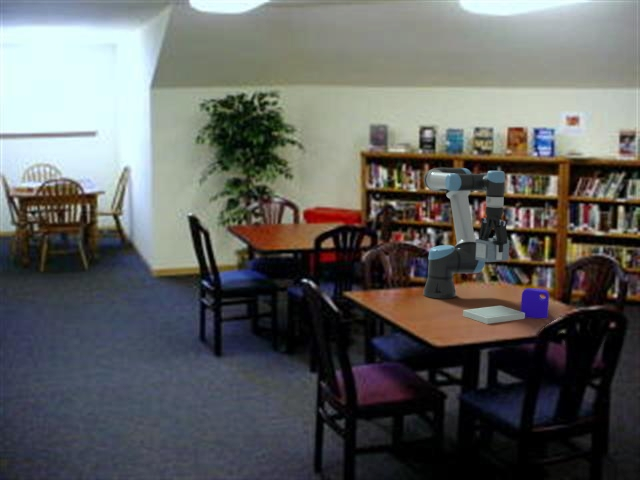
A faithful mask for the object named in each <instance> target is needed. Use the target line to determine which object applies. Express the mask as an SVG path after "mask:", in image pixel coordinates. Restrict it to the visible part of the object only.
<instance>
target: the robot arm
mask: <svg viewBox="0 0 640 480" xmlns="http://www.w3.org/2000/svg"><path fill="white" fill-rule="evenodd" d="M505 175H506V174H505V171H502V170H488V171H487V173H472V172H471V171H470V169H468V168H464V167H435V168H432V169H430V170H428V171H427V172H426V173H425V175H424V177H423V180H424V181H423V182H424V185H425V187H426V188H427V189H429V190H430V191H432V192H433V191H434V192H442V193H443V192H444V193H445V195H446V197H447V198H448V199H449V200H450V208H451V213H452V219H453V220H452V221H453V226H454V233H455V240H456V244H455V245H449V244H448V245H446V244H444V245H443V244H442V245H436V246H434V247H431V248H430V249H429V252H428V258H427V259H428V266H427V279H426V283H425V286H424V288H423V293H422V294H423V296H424V297H428V298H433V299H439V300H440V299H444V300H446V299H453V298H456V297H457V291H456V287H455V284H454V283H455V282H454V274H479V273H481V272H482V271H483V269H484V267H485V264H486V262H484V261H480V260H475V257H476V238H475V232H474V226H473V218H472V214H471V208H470V202H469V196H470V195H471V192H486V194H485V206H486V207H485V210H484V211H485V212H484V213H485V214H484V215H485V217H482V218H481V219H480V222H481V223H480V229H479V234H478V239H486V238H490V235H491V232H492V230H493V231H494V233H495V236H496V237H497V241H498V244H497V247H496V260H502V252H503V245H504V244H507V240H508V235H507V234H508V233H507V224H508V222H507V221H506V220H503V219H502V217H503V215H504V207H503V206H504V201H505V199H504V197H505V184H506V183H505V182H506V177H505ZM500 241H501V242H500Z"/></svg>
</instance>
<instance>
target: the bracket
mask: <svg viewBox="0 0 640 480" xmlns="http://www.w3.org/2000/svg"><path fill="white" fill-rule="evenodd" d="M541 295H544V296H545V297H544V298H543V297H541ZM549 303H550V292H549V291H548V290H547V289H543V288H541V289H540V288H531V287H527V288H525V289H523V291H522V293H521V303H520V312H524V313H525V318H530V319H531V318H533V319H540V318H547V319H548V317H549Z"/></svg>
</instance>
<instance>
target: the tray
mask: <svg viewBox="0 0 640 480" xmlns="http://www.w3.org/2000/svg"><path fill="white" fill-rule="evenodd" d="M462 316H463V317H465V318H468V319H471V320H474V321H477V322H480V323H483V324H486V325H489V324H496V323H503V322H510V321H516V320H517V321H518V320H524V319H526V317H525V313H524V312H521V310H520V311H519V310H516V309H513V308H510V307H506V306H504V305H494V306H487V307H486V306H485V307H479V308H471V309H463V310H462Z"/></svg>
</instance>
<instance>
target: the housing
mask: <svg viewBox="0 0 640 480" xmlns="http://www.w3.org/2000/svg"><path fill="white" fill-rule="evenodd" d="M475 241H476V257H475V260H480V261H484V262H485V263H494V262H495V263H496V262H507V261H509V258H510V256H509V253H510V241H511V240H510V239H507V244H504V245H503V252H502V260H496V247H497V244H498V241H497V237H496V235H493V236H492V237H489V238H486V239H479V238H475ZM500 242H501V241H500Z"/></svg>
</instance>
